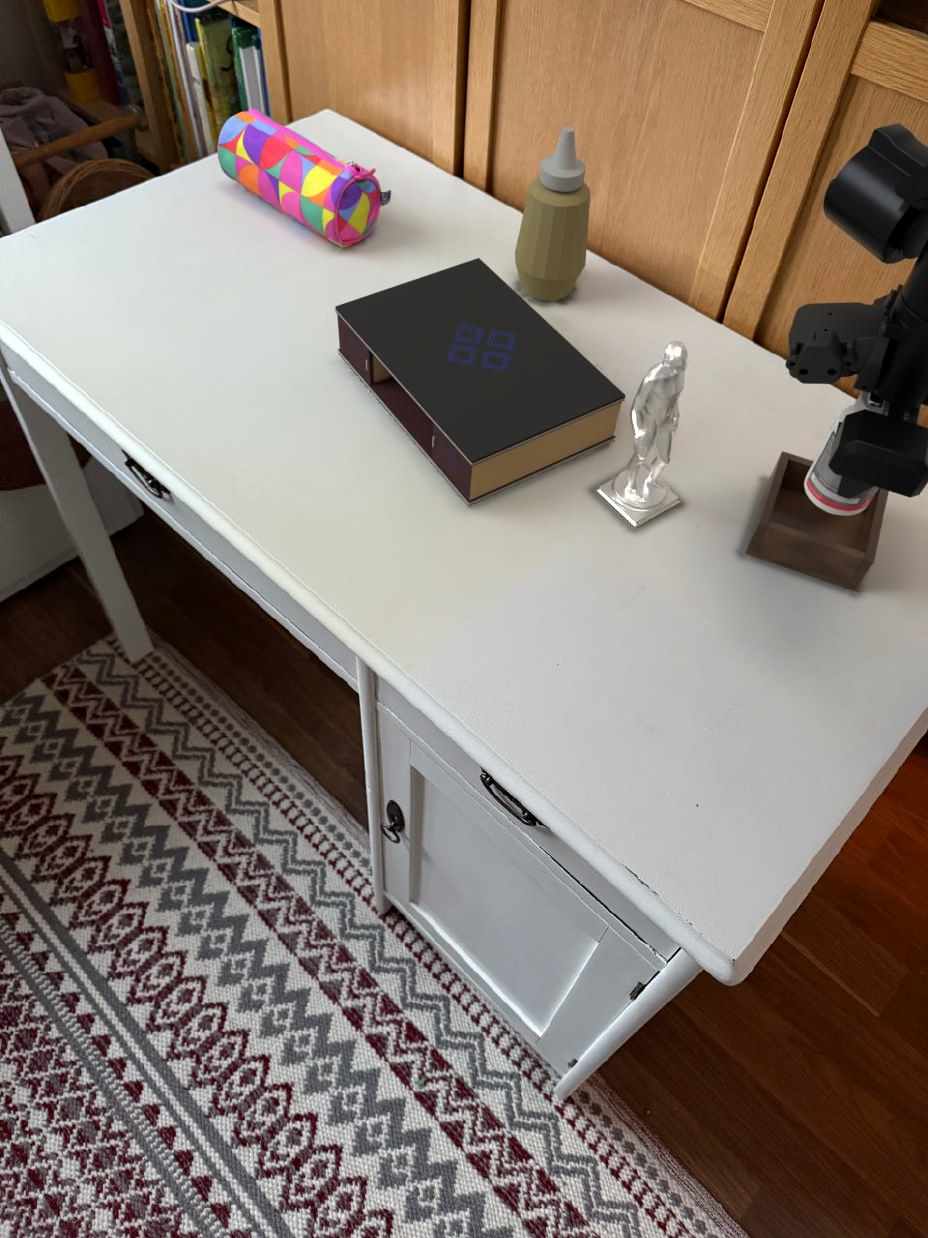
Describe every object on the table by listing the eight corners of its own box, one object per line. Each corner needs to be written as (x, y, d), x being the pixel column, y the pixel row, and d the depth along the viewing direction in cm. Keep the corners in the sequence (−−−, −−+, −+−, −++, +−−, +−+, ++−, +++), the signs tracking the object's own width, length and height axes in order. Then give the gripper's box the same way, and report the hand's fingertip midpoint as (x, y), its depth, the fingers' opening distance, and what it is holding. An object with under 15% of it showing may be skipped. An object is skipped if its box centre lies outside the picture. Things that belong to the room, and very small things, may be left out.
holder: (871, 515, 87) (890, 485, 83) (854, 591, 81) (873, 562, 78) (768, 481, 89) (782, 450, 85) (744, 553, 83) (758, 523, 80)
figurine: (613, 540, 83) (657, 386, 68) (574, 490, 87) (608, 333, 72) (687, 512, 86) (744, 357, 71) (646, 464, 89) (693, 307, 74)
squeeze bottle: (497, 289, 104) (512, 131, 90) (535, 258, 108) (555, 100, 94) (557, 317, 102) (582, 159, 87) (593, 283, 106) (623, 126, 91)
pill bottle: (870, 524, 72) (928, 433, 64) (802, 510, 73) (851, 418, 65) (867, 476, 75) (922, 383, 67) (802, 463, 76) (849, 370, 68)
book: (467, 513, 84) (471, 461, 79) (338, 359, 96) (334, 306, 90) (613, 446, 90) (626, 394, 85) (475, 310, 102) (478, 257, 96)
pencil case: (397, 229, 110) (396, 155, 103) (343, 262, 106) (338, 188, 98) (270, 163, 118) (261, 90, 110) (215, 192, 113) (202, 117, 106)
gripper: (844, 199, 66) (772, 371, 78) (796, 350, 55) (723, 519, 68) (1002, 240, 64) (902, 410, 76) (983, 405, 53) (871, 568, 66)
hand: (849, 471), depth 72 cm, fingers closed on pill bottle, 5 cm apart
